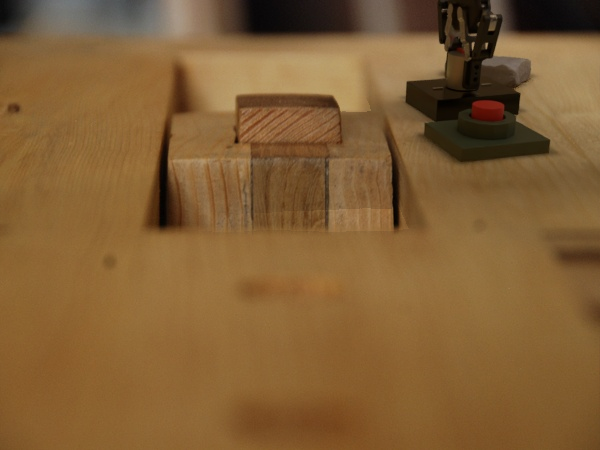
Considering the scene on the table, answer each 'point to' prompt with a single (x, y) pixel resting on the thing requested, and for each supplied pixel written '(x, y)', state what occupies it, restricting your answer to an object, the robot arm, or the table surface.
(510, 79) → the stone block
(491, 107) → the button
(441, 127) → the button box
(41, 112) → the table surface
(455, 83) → the dial
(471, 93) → the panel
